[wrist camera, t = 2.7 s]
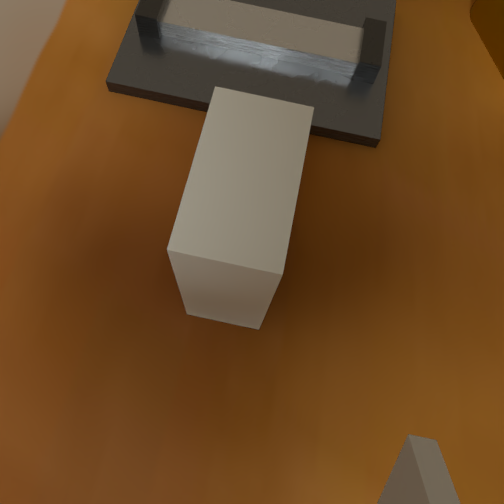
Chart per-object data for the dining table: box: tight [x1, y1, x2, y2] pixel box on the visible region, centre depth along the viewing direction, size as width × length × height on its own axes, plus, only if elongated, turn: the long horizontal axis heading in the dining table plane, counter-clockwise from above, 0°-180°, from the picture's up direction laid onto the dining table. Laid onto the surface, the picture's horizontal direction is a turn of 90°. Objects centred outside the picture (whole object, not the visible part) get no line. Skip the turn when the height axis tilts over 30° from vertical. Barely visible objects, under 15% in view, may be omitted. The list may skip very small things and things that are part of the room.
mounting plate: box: [106, 0, 396, 148], centre depth 34 cm, size 20×14×3 cm
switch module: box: [167, 86, 314, 330], centre depth 23 cm, size 9×4×11 cm, turn 168°
